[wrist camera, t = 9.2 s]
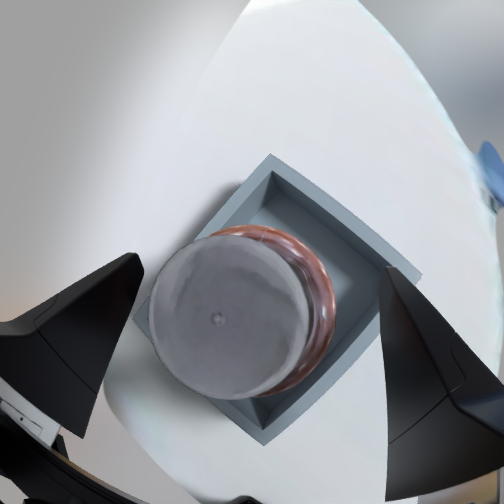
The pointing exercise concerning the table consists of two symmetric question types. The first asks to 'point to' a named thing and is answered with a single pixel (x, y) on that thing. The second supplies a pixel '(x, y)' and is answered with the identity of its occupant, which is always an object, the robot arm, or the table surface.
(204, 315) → the supplement bottle
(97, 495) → the robot arm
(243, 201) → the tote
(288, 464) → the table surface
